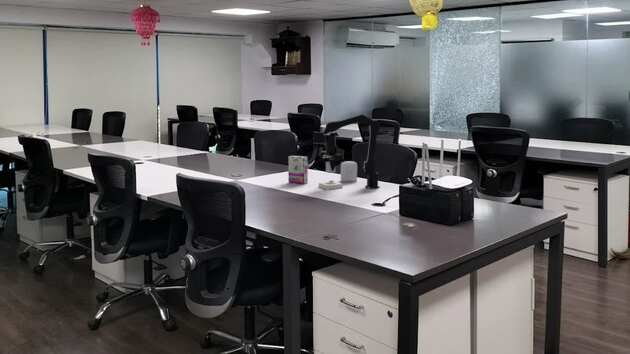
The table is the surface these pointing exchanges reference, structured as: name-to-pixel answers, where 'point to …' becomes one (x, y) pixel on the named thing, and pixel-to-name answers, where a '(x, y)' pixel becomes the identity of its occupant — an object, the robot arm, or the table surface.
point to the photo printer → (348, 171)
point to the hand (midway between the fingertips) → (330, 170)
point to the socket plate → (330, 185)
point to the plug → (329, 168)
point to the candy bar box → (298, 169)
